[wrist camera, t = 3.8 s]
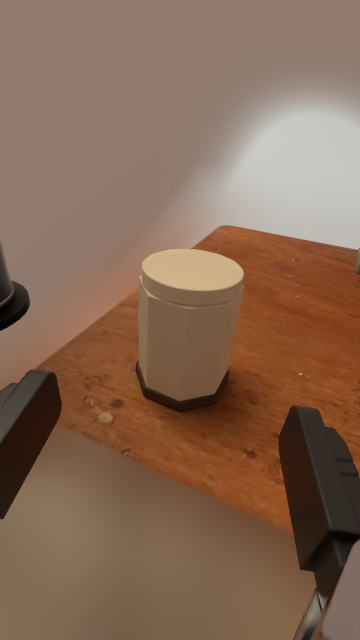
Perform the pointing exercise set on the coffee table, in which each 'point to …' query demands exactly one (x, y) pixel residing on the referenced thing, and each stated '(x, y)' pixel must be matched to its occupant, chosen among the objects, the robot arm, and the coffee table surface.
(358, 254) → the green square peg base
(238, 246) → the coffee table surface
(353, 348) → the coffee table surface
